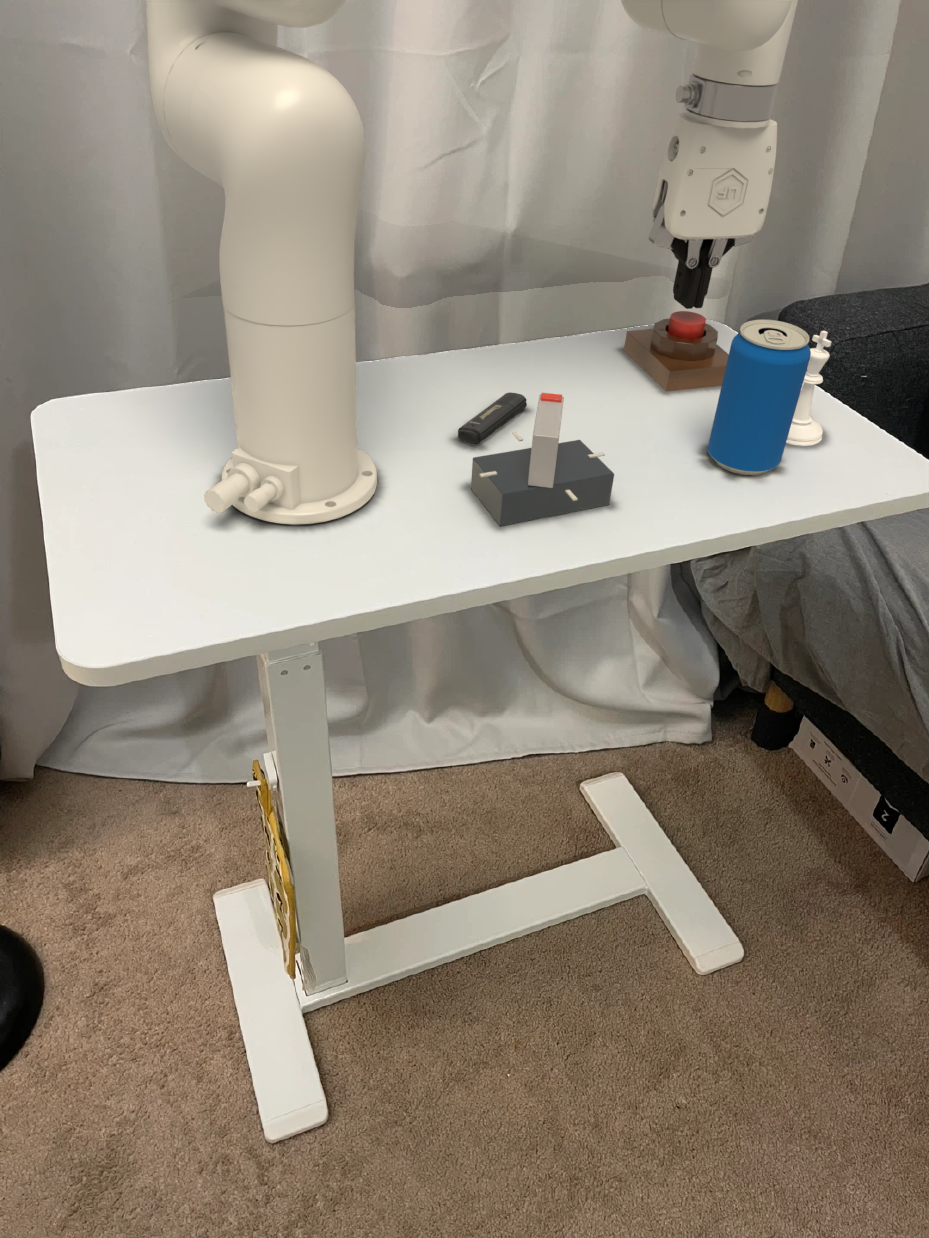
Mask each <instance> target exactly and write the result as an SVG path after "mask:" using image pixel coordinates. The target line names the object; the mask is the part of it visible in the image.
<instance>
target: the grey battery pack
mask: <svg viewBox="0 0 929 1238" xmlns="http://www.w3.org/2000/svg"><path fill="white" fill-rule="evenodd" d="M564 402H565V397H564V396H563V394H561V393H552V392H551V393H549V392H541V393H540V394H539V396H538V402H537V407H536V408H537V409H536V414H535V419H534V420H535V421H534V425H533V432H532V438H531V439H532V440H531V447H530V448H531V458H530V467H529V477H528V485H529V486H538V487H547V488H553V483H554V475H555V467H556V459H557V451H558V443H560V436H561V435H560V433H561V425H562V419H563V418H562V416H563V409H564Z"/></svg>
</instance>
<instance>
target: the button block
mask: <svg viewBox="0 0 929 1238" xmlns="http://www.w3.org/2000/svg"><path fill="white" fill-rule="evenodd" d="M669 321H670V318H663V319H660V320H658V321H657V322H655V323H654V324H653V328H647V329H634V330H627V331H626V335H625V340H624V346H623V351H624V352H625V353H626V354H627V355H628V356H629V357H630V358H631V359H632V360H633V361H634V362H635V363H636V364H637V365H638V366H639V367H640V368H641V369H642V370H643V371H644V372H646V374H647V375H649V376H650V377H651V379H653V381H655V382H656V384H658V386H660V387H661V388H662V389H663V390H664V391H665V392H666V393H667V392H675V391H685V390H694V389H695V390H696V389H703V388H704V389H705V388H713V387H714V388H715V387H722V382H723V378H724V374H725V369H726V365H727V360H728V356H729V352H727V351H726V350H724V349H723V348H722V347H721V346H720V345H718V344H717V343H718V339H719V331H718V330H717V329H716V328H714V327H713V326H712V325H710V324H708V323H706V324H705V328H704V333H703V337H702V338H699V339H684V338H678V337H676V336H673V335H670V334H669V333H668V326H669Z"/></svg>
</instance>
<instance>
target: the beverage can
mask: <svg viewBox="0 0 929 1238" xmlns="http://www.w3.org/2000/svg"><path fill="white" fill-rule="evenodd" d="M809 342H810V335H809V334H808V332H806V331H805V330H804V329H803V328H800V327H799V326H797V325H795V324H792V323H788V322H785V321H780V320H775V319H754V320H748V321H746V322H744V323H743V324H741V326H740V328H739V332H738V333H737V334H736V335H734V336H733V338H732V340H731V343H730V347H729V351H728V354H729V356H728V360H727V365H726V369H725V374H724V378H723V382H722V386H720V391H719V396H718V400H717V405H716V409H715V413H714V418H713V421H712V427H711V431H710V435H709V439H708V445H707V453H708V454H709V456H710V457H711V458H712V459H713V461H715V463H716V464H717V465H718V466H719V467H720V468H722V469H723V470H726V471H728V472H731V473H732V474H737V475H741V476H742V475H743V476H758V475H762V474H765V473H767V472H768V471H772V470H774V469H776V468H777V467H779V465H780V464H781V462H782V458H783V455H784V451H785V447H786V444H787V443H786V441H787V438H788V434H789V430H790V427H791V423H792V420H793V416H794V413H795V409H796V406H797V402H798V399H799V395H800V392H801V389H802V387H803V384H804V382H803V381H804V378H805V374H806V371H807V367H808V363H809V360H810V356H811V351H810V349H811V347H810V346H809Z"/></svg>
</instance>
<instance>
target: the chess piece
mask: <svg viewBox="0 0 929 1238" xmlns="http://www.w3.org/2000/svg"><path fill="white" fill-rule="evenodd" d="M828 334H829V332H828V331H826V330H821V331H820V333H819V335H818V334H814V335H813V336H812V339H811V341H812V342H814V343H817V344H816V347H812V348H811V347H810V351H811V356H810V360H809V363H808V367H807V370H806V374H805V378H804V381H803V385H802V388H801V392H800V395H799V399H798V402H797V406H796V409H795V413H794V416H793V420H792V423H791V427H790V430H789V434H788V438H787V441H786V444H789V445H793V446H801V447H807V446H809V447H810V446H813V445H817V444H818V443H820V442H821V441H822V440H823V433H824V429H823V427H822V425H821V424H819V422H817V421H815V420H814V419H813V417H812V416H811V410H812V409H811V408H812V403H813V397H814V391H815V387H816V385H820V384H822V383H823V382H824V379H823V378H824V377H823V376H822V375H821V374H820V372H821V370H822V369H823V367H824V366H825V364H826V363H827V362H828V361H829V359H830V356H831V354H830V352H828V351H827V350H826V349H824V347H826V348H830V347H831V346H832V343H833V341H831V340H829V339H827V337H828Z"/></svg>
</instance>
